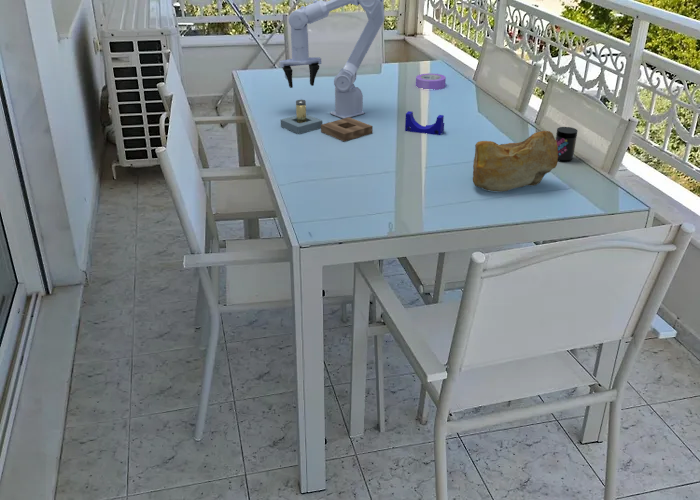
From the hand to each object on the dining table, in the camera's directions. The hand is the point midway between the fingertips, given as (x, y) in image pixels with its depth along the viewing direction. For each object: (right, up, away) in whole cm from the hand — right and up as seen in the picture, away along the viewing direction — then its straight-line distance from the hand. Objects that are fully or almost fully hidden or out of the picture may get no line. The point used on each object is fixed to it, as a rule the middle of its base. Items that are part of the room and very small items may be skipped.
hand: (301, 86), depth 245 cm
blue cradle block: (+42, -18, -13) cm, 47 cm away
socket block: (+16, -19, -15) cm, 29 cm away
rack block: (+1, -16, -10) cm, 19 cm away
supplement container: (+81, -30, -36) cm, 93 cm away
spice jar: (+1, -16, -10) cm, 19 cm away
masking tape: (+49, +8, +34) cm, 60 cm away
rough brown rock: (+61, -38, -50) cm, 88 cm away
